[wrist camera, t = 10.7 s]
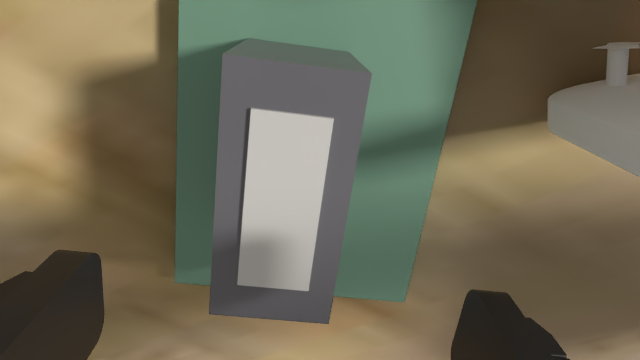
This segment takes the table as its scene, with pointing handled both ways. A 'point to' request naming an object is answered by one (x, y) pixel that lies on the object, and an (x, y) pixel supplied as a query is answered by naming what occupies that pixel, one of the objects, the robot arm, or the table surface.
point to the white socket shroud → (603, 112)
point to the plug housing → (284, 178)
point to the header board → (378, 128)
